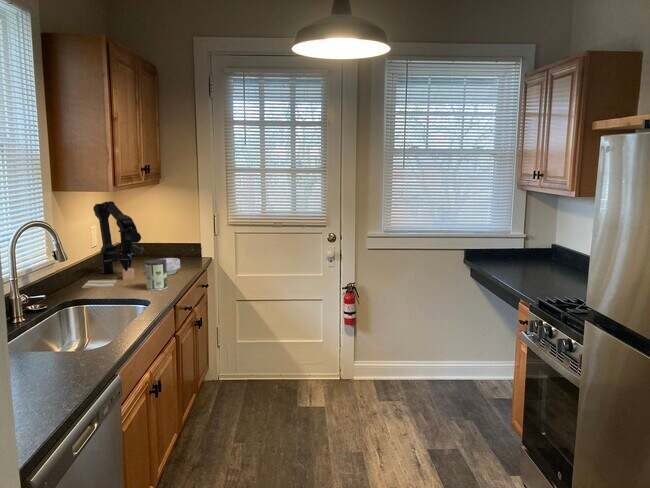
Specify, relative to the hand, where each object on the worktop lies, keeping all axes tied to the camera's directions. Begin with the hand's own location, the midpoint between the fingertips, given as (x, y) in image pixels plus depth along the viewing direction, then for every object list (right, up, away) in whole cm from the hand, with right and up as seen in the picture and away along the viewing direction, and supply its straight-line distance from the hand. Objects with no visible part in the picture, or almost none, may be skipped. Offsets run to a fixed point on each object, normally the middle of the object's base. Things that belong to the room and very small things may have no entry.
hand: (128, 269), depth 282 cm
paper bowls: (+17, -3, +13) cm, 22 cm away
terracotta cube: (0, -5, +1) cm, 5 cm away
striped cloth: (-9, -7, -13) cm, 18 cm away
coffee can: (+22, -9, -20) cm, 31 cm away
